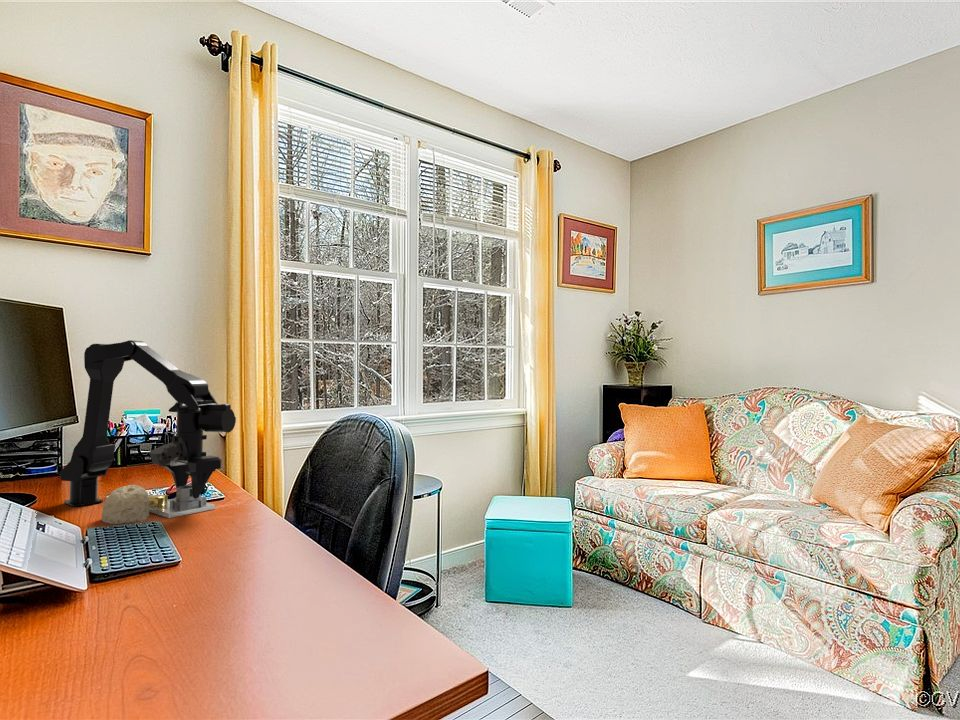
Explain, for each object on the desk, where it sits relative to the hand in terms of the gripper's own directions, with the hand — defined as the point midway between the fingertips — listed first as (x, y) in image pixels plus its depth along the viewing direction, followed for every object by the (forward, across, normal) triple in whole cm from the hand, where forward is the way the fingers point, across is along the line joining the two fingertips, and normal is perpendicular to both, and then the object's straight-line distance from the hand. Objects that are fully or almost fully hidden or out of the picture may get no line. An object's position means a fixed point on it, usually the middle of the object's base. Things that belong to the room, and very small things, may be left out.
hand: (188, 496), depth 138 cm
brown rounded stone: (+4, -3, -12) cm, 13 cm away
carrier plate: (+3, -2, -1) cm, 4 cm away
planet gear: (+2, 0, 0) cm, 2 cm away
